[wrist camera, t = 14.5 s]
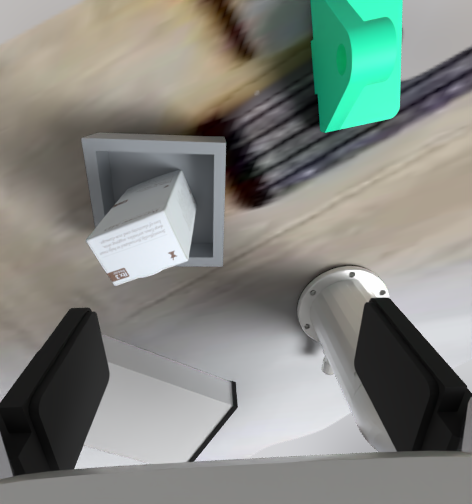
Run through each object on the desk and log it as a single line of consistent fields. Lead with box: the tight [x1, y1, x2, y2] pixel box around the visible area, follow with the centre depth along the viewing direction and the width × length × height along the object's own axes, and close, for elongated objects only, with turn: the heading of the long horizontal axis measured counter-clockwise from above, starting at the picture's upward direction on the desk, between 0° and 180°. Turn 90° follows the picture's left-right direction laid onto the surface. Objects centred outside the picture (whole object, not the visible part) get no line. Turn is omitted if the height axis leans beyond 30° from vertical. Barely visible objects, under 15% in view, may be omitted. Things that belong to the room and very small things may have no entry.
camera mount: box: [310, 0, 402, 133], centre depth 28 cm, size 12×8×10 cm, turn 11°
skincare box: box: [86, 170, 197, 286], centre depth 28 cm, size 6×4×12 cm
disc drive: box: [83, 334, 238, 464], centre depth 49 cm, size 18×22×5 cm
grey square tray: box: [81, 132, 226, 266], centre depth 33 cm, size 12×12×8 cm
